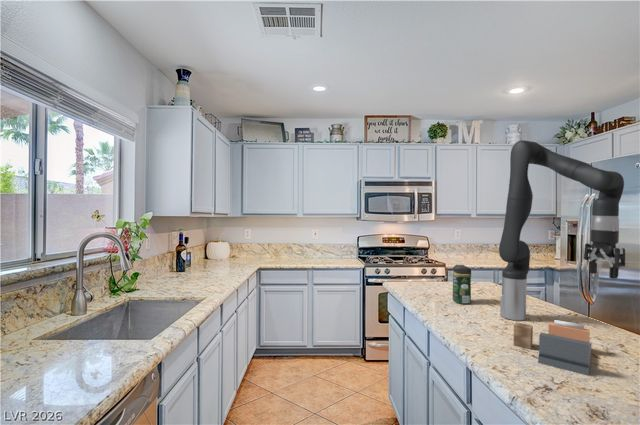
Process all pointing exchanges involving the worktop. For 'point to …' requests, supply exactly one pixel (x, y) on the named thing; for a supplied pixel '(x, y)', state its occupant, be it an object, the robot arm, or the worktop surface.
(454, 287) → the coffee jar
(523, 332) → the walnut block
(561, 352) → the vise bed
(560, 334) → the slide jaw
